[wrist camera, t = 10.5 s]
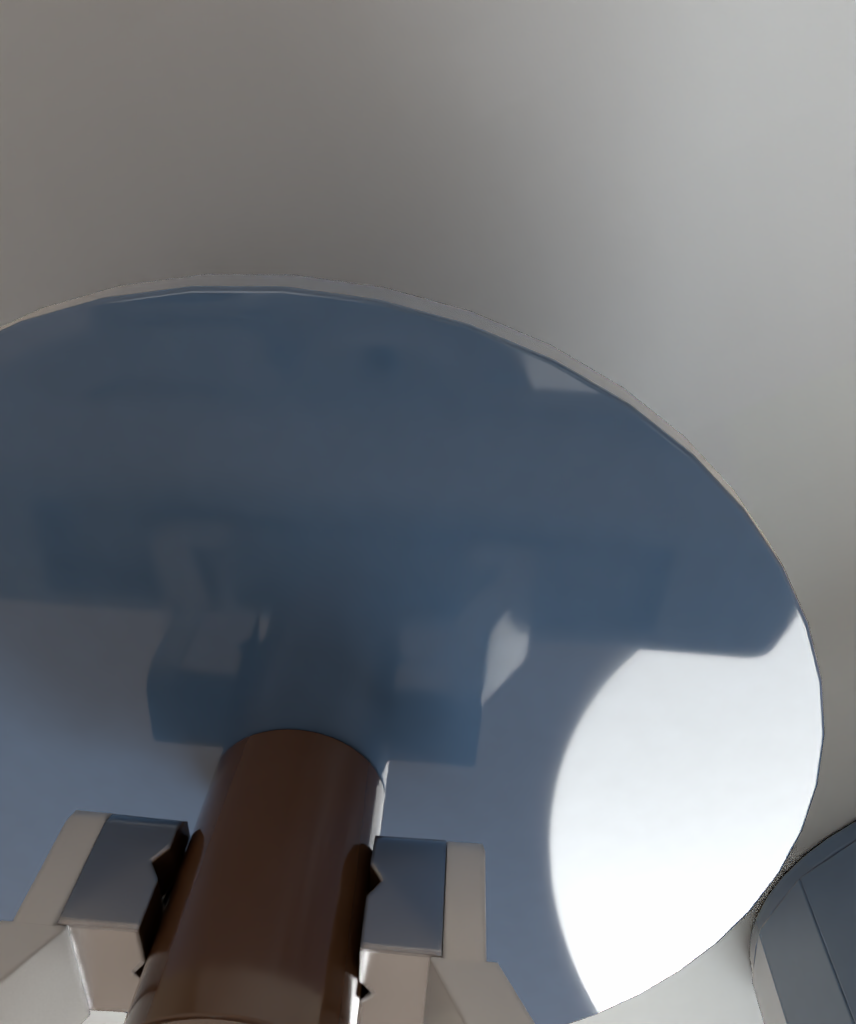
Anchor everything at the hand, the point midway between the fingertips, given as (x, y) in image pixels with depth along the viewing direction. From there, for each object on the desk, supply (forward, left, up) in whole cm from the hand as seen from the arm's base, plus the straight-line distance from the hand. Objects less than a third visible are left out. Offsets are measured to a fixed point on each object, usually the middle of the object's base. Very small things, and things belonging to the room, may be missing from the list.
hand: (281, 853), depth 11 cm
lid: (0, 0, -2) cm, 2 cm away
